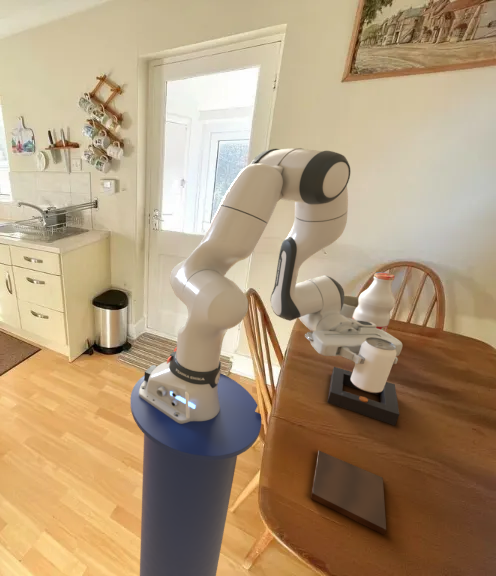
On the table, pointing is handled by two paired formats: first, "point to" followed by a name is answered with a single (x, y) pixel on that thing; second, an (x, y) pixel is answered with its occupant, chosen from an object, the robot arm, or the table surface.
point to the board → (349, 491)
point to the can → (374, 365)
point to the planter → (349, 306)
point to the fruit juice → (376, 302)
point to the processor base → (363, 398)
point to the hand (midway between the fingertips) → (378, 361)
